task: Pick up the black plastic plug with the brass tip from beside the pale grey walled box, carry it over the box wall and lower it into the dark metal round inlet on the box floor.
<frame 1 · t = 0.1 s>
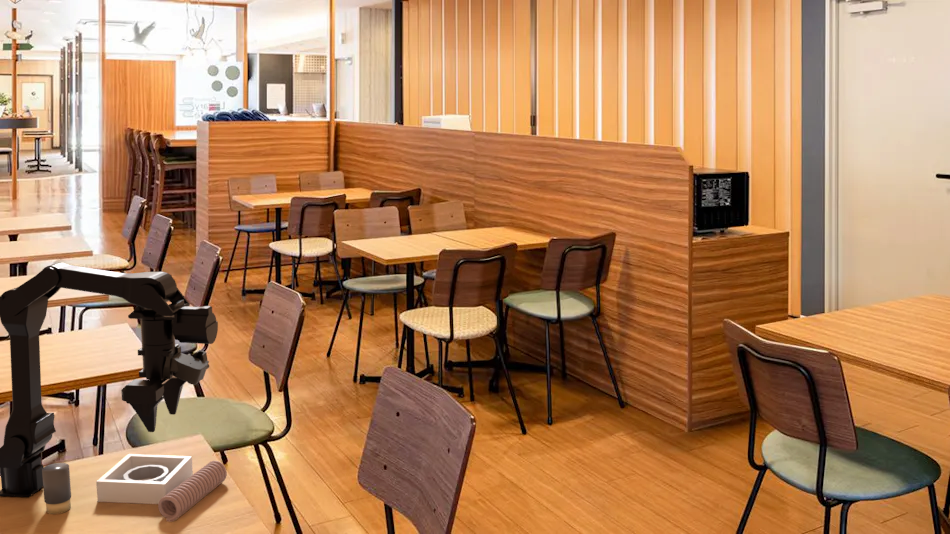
hand: (162, 422, 158), 15 cm above the table, fingers open, 9 cm apart
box: (146, 487, 164), on the table
coil: (194, 501, 160), on the table
plug: (58, 509, 155), on the table
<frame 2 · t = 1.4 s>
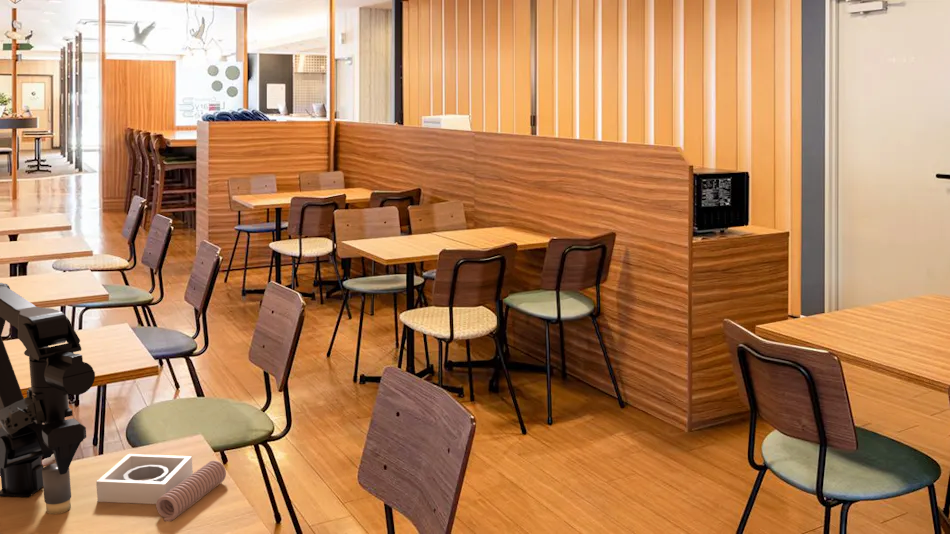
hand: (55, 465, 154), 8 cm above the table, fingers open, 9 cm apart
nothing on the table moved.
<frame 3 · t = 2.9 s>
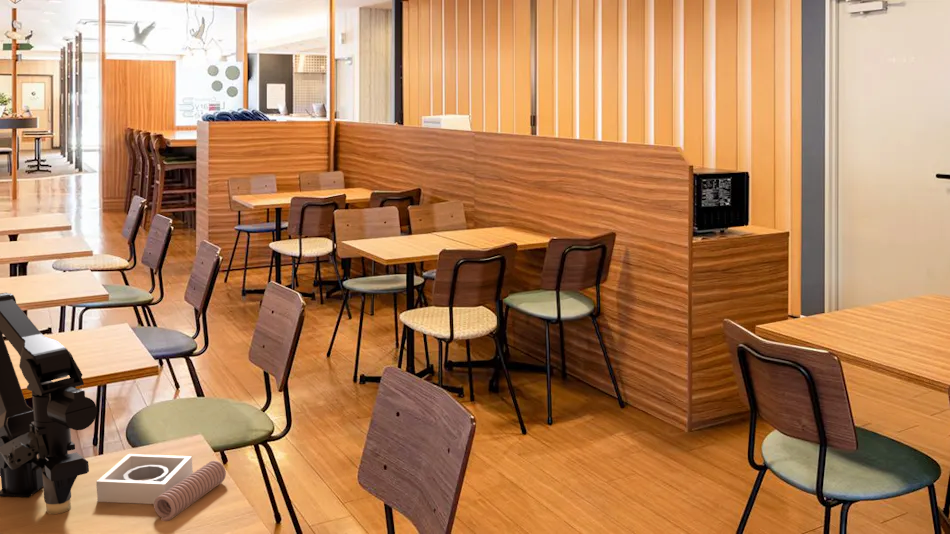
hand: (57, 498, 155), 2 cm above the table, fingers closed on plug, 4 cm apart
plug: (58, 509, 155), on the table, touching gripper
everything else where it was.
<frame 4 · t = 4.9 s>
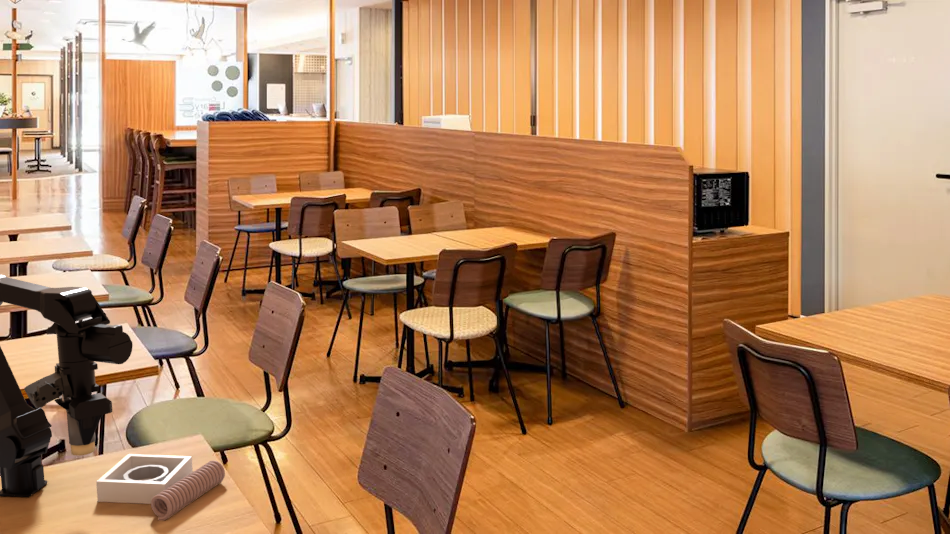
hand: (82, 440, 155), 12 cm above the table, fingers closed on plug, 4 cm apart
plug: (83, 451, 156), point 10 cm above the table, touching gripper
everything else where it was.
when the fingers open (4 cm above the table, at t = 8.3 s): plug stays where it is, resting on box.
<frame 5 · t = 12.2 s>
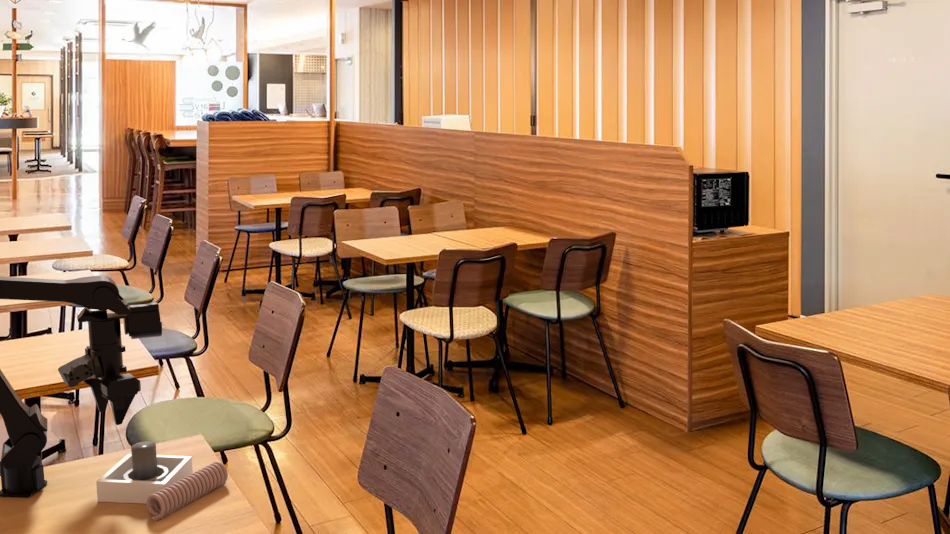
hand: (110, 418, 167), 12 cm above the table, fingers open, 9 cm apart
plug: (146, 484, 164), point 1 cm above the table, touching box
at the end: plug 0.1 cm off-centre on the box, point 0.6 cm above the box's base; plug tilted 1°; the gripper is holding nothing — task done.
